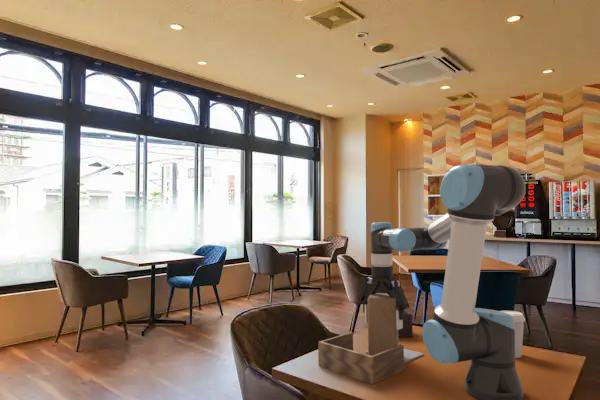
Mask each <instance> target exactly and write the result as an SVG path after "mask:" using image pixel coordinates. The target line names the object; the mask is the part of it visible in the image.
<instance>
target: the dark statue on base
mask: <svg viewBox="0 0 600 400" xmlns="http://www.w3.org/2000/svg"><path fill="white" fill-rule="evenodd" d="M402 290H403V292H404V294H405V292H406V291H405V289H403V288H402ZM413 333H414V331H413V315H412V313H411V312H409V310H407V309H405V310H404V319H403V328H402V329H399V330H398V338H413V337H414V335H413Z"/></svg>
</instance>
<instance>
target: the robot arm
mask: <svg viewBox="0 0 600 400" xmlns="http://www.w3.org/2000/svg"><path fill="white" fill-rule="evenodd" d="M526 190H527V189H526V182H525V179H524V178H523V176H522V175H521V173H519V171H518V170H516V169H515V168H513V167H511V166H507V165H501V164H499V165H493V164H475V163H467V164H458V165H455V166H453V167H451V169H450V170H448V171H447V172H446V173H445V174H444V176H443V178H442V180H441V184H440V186H439V196H440V199H441V204H442V205H444V207H445V208H446V209H447V212H446V213H445V214H443V215H442V216H441V217H439V218H438V219H436V220H435V221H433V222H431V223H430V224H428V225H427V226H425V227H401V228H400V227H397V228H396V227H393V225H392V222H390V221H387V222H386V221H381V222H380V221H379V222H375V221H374V222H372V223H371V225H370V233H369V234H370V251H371V253H370V257H371V259H370V261H371V262H370V263H371V276H368V277H367V276H366V277H364V284H363V287H362V289H361V291H360V294H359V297H358V302H360V303H362V312H363V313H364V324H368V297H369V296H370V295H371V294H375V293H378V292H381V293H387V294H388V295H389V296H390V297H392V298H396V307H397V308H398V310H396V329H397V330H399V329H402V328H403V319H404V310H407V309H409V308H410V305H409V302H408V299H407V297H406V295H405V293H404V292H403V290H404V289H403V288H402V282H401V279H397V280H393V277H394V267H393V266H392V265H393V263H394V260H393V259H394V258H393V251H397V252H409V251H418V250H420V251H421V250H438V249H444V248H445V247H446V245H447V243H448V241H449V243H448V249H447V254H446V255H447V256H446V265H445V270H444V271H445V273H444V277H443V278H444V279H443V288H442V295H441V300H440V301H441V303H440V304H438V305H437V306H435V307H434V310H433V318H432V319H428V320H427V321H425V322H424V324H423V326H422V330H421V331H422V332H421V333H422V339H423V344H424V345H425V347H426V350H427V352H428V354H429V355H430V356H431V357H432V359H434V360H435V361H436V362H438V363H440V364H444V365H445V364H453V365H454V364H457V363H462V362H467V361H470V363H469V367H468V370H467V373H466V377H465V379H464V390H465V391H466V393H468V395H470V396H472V397H474V398H476V399H478V400H523V399H524V387H523V385H522V382H521V379H520V376H519V373H518V371H517V368H516V358H515V328H514V320H513V318H512V316H511V315H509V314H507V313H504V312H500V311H501V310H495V309H489V308H481V307H476V304H477V303H476V302H477V296H478V289H479V288H478V287H479V281H480V275H481V268H482V262H483V261H482V260H483V256H484V255H483V254H484V248H485V240H486V235H487V234H486V233H487V226H488V225H489V224H490V223H492V222H493V221H494V220H495V217H496V216H502V215H503V214H505V213H507V212H509V211H511V210H513V209H515V208H516V207H517V206H518V205H519V204H520V203H521V202H522V200H523V199H524V197H525V194H526ZM372 284H373V285H372ZM371 286H372V287H371ZM402 289H403V290H402ZM396 294H397V295H396Z"/></svg>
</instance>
